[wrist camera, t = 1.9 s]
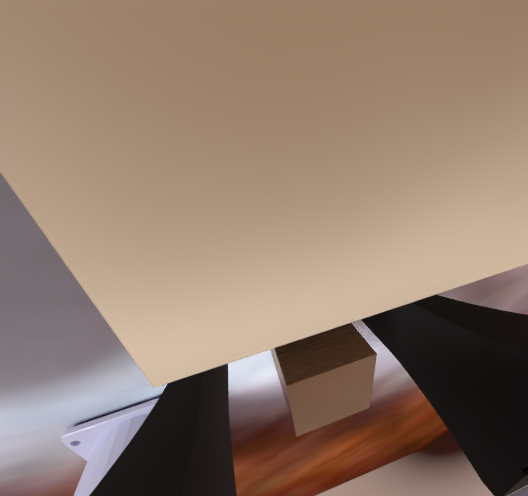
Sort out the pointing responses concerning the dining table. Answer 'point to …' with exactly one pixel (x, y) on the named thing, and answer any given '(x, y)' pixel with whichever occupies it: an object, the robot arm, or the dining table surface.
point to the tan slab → (265, 160)
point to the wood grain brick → (325, 376)
